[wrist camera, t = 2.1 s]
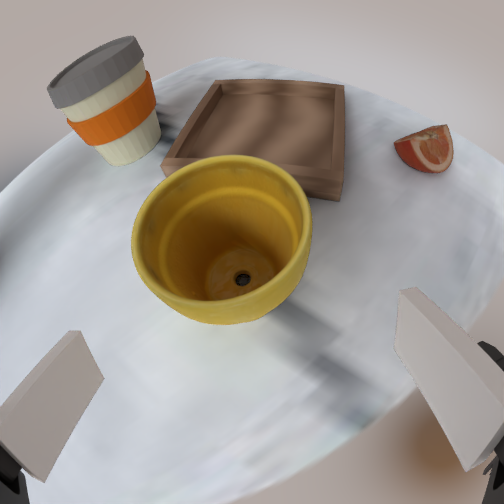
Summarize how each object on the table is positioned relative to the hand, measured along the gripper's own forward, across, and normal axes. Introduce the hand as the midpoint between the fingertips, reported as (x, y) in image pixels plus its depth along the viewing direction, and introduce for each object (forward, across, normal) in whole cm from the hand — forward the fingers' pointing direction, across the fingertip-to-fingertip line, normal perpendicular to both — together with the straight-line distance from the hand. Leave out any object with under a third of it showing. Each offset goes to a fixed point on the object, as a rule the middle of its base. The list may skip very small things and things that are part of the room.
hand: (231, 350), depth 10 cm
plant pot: (+13, -1, -3) cm, 14 cm away
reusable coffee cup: (+30, -15, +13) cm, 36 cm away
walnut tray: (+26, +4, +10) cm, 28 cm away
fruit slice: (+21, +21, +5) cm, 31 cm away
